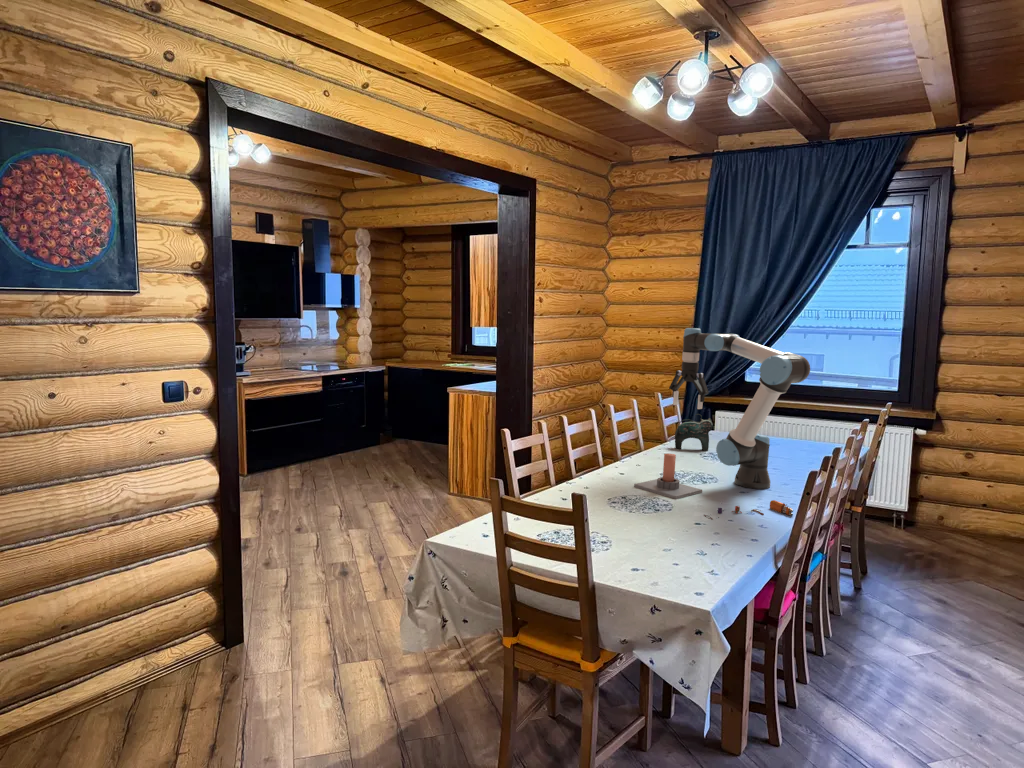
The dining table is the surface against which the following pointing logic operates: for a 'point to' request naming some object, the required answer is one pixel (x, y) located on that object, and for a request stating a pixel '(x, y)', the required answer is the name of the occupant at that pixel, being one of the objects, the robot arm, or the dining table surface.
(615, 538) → the dining table surface
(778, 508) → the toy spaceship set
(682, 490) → the cradle
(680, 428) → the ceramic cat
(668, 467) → the pink cylindrical peg
